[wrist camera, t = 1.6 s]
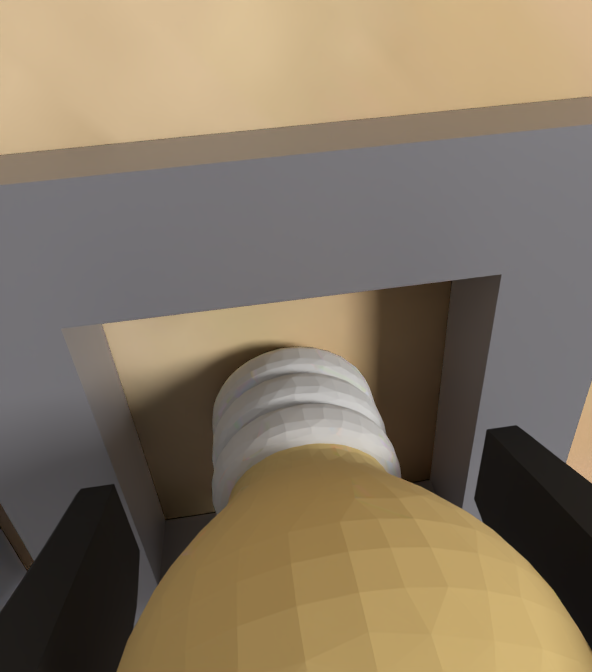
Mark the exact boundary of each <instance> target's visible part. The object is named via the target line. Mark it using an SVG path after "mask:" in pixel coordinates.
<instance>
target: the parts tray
mask: <svg viewBox="0 0 592 672" xmlns="http://www.w3.org/2000/svg"><path fill="white" fill-rule="evenodd" d="M26 573H27V571H26V569H25V567H24V566H23V564H22V563H21V561H20V559H19V558H18V556H17V554H16V553H15V551H14V549H13V548H12V546H11V544H10V543H9V541H8V539H7V538H6V536H5V534H4V533H3V531H2V530H1V528H0V611H1V610H2V608H3V607H4V606H5V604H6V603H7V601H8V600H9V598H10V597H11V595H12V594H13V592H14V591H15V589H16V588H17V586H18V585H19V583H20V582H21V580H22V579H23V577H24V576H25V574H26Z"/></svg>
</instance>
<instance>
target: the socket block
mask: <svg viewBox="0 0 592 672" xmlns="http://www.w3.org/2000/svg"><path fill="white" fill-rule="evenodd" d="M451 280H452V285H451V294H450V303H449V312H448V321H447V330H446V339H445V348H444V357H443V366H442V375H441V384H440V393H439V402H438V412H437V421H436V430H435V439H434V448H433V457H432V466H431V475H430V480H428V481H421V482H415V483H413V484H416V485H418V486H421V487H423V488H425V489H426V490H428V491H430V492H432V493H434V494H436V495H438V496H439V497H441V498H443V499H445V500H447V501H449V502H450V503H452V504H454V505H456V506H458V507H460V508H461V509H463V510H465V511H467V512H468V513H470V514H471V515H473V516H474V517H475V518H477V519H478V520H480V521H481V522H483V521H482V519H481V516H480V513H479V511H478V508H477V505H476V503H475V500H474V496H475V490H476V485H477V479H478V474H479V468H480V463H481V458H482V452H483V447H484V441H485V436H486V431H487V429H493V428H500V427H507V426H513V425H517V426H519V427H520V428H521V429H522V430H524V431H525V432H526V433H528V434H529V435H530V436H532V437H533V438H534V439H535V440H537V441H538V442H539V443H540V444H542V445H543V446H544V447H546V448H547V449H548V450H549V451H551V452H552V453H553V454H554V455H556V456H557V457H558V458H559V459H561V460H562V461H563V462H565V463H566V460H567V457H568V454H569V451H570V448H571V445H572V441H573V438H574V435H575V432H576V429H577V425H578V422H579V419H580V416H581V413H582V410H583V406H584V403H585V400H586V397H587V394H588V391H589V387H590V384H591V381H592V97H583V98H572V99H562V100H552V101H542V102H532V103H522V104H512V105H502V106H492V107H482V108H471V109H461V110H451V111H441V112H431V113H421V114H411V115H401V116H391V117H381V118H370V119H360V120H350V121H340V122H330V123H320V124H310V125H300V126H290V127H280V128H269V129H259V130H249V131H239V132H229V133H219V134H209V135H199V136H189V137H179V138H168V139H158V140H148V141H138V142H128V143H118V144H108V145H98V146H88V147H78V148H68V149H57V150H47V151H37V152H27V153H17V154H7V155H0V504H1V505H2V507H3V509H4V511H5V512H6V514H7V516H8V517H9V519H10V521H11V523H12V524H13V526H14V528H15V529H16V531H17V533H18V535H19V536H20V538H21V540H22V541H23V543H24V545H25V547H26V548H27V550H28V552H29V553H30V555H31V557H32V559H33V560H34V561H35V559H36V558H37V556H38V554H39V553H40V551H41V550H42V548H43V547H44V545H45V544H46V542H47V540H48V539H49V537H50V536H51V534H52V533H53V531H54V529H55V528H56V526H57V525H58V523H59V521H60V520H61V518H62V516H63V515H64V513H65V512H66V510H67V508H68V507H69V505H70V504H71V502H72V500H73V499H74V497H75V495H76V494H77V493H78V492H79V490H80V489H82V488H89V487H96V486H103V485H110V484H114V485H115V487H116V490H117V492H118V495H119V498H120V500H121V503H122V505H123V508H124V511H125V513H126V516H127V518H128V521H129V524H130V526H131V529H132V531H133V534H134V537H135V539H136V542H137V544H138V547H139V549H140V561H139V582H138V597H137V609H136V615H135V621H134V627H135V625H136V624H137V622H138V620H139V618H140V616H141V614H142V612H143V611H144V609H145V607H146V605H147V603H148V601H149V599H150V598H151V596H152V594H153V592H154V590H155V588H156V587H157V586H158V584H159V583H160V581H161V580H162V578H163V577H164V575H165V574H166V572H167V571H168V569H169V568H170V567H171V565H172V564H173V563H174V562H175V560H176V559H177V558H178V557H179V556H180V555H181V553H182V552H183V551H184V550H185V549H186V547H187V546H188V545H189V544H190V543H191V542H192V540H193V539H194V538H195V537H196V536H197V534H198V533H199V532H200V531H201V530H202V529H203V528H204V527H205V526H206V525H207V524H208V523H209V522H210V521H211V520H212V519H213V518H215V517H216V516H217V514H216V513H211V514H205V515H198V516H191V517H185V518H178V519H172V520H165V518H164V515H163V512H162V508H161V505H160V502H159V499H158V496H157V493H156V490H155V487H154V484H153V481H152V478H151V475H150V471H149V468H148V465H147V462H146V459H145V456H144V453H143V450H142V447H141V444H140V441H139V437H138V434H137V431H136V428H135V425H134V422H133V419H132V416H131V413H130V410H129V407H128V404H127V400H126V397H125V394H124V391H123V388H122V385H121V382H120V379H119V376H118V373H117V370H116V366H115V363H114V360H113V357H112V354H111V351H110V348H109V345H108V342H107V339H106V336H105V333H104V329H103V326H102V324H104V323H112V322H120V321H128V320H136V319H144V318H152V317H161V316H169V315H177V314H185V313H193V312H201V311H209V310H217V309H225V308H233V307H241V306H249V305H257V304H266V303H274V302H282V301H290V300H298V299H306V298H314V297H322V296H330V295H338V294H346V293H354V292H363V291H371V290H379V289H387V288H395V287H403V286H411V285H419V284H427V283H435V282H443V281H451ZM134 627H133V629H134Z"/></svg>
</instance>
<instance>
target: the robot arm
mask: <svg viewBox="0 0 592 672" xmlns="http://www.w3.org/2000/svg"><path fill="white" fill-rule="evenodd" d="M474 500H475V503H476V505H477V508H478V511H479V513H480V516H481V519H482V521H483V523H484V524H485V525H487V526H488V527H490V528H491V529H493V530H494V531H495V532H496V533H497V534H498V535H499V536H501V537H502V538H503V539H504V540H505V541H506V542H507V543H508V544H509V545H511V546H512V547H513V548H514V549H515V550H516V551H517V552H518V553H519V554H521V555H522V556H523V557H524V558H525V559H526V560H527V561H528V562H529V563H530V564H531V565H532V566H533V567H534V569H535V570H536V571H537V572H538V573H539V574H540V575H541V577H542V578H543V579H544V580H545V581H546V582H547V583H548V585H549V586H550V587H551V588H552V589H553V590H554V592H555V593H556V595H557V596H558V598H559V599H560V601H561V602H562V604H563V605H564V607H565V608H566V610H567V611H568V613H569V614H570V616H571V617H572V619H573V620H574V622H575V624H576V625H577V627H578V628H579V630H580V631H581V633H582V635H583V636H584V638H585V640H586V642H587V643H588V645H589V647H590V648H591V650H592V483H590V482H589V481H588V480H586V479H585V478H584V477H583V476H581V475H580V474H579V473H577V472H576V471H575V470H574V469H572V468H571V467H570V466H568V465H567V464H566V463H565V462H563V461H562V460H561V459H559V458H558V457H557V456H556V455H554V454H553V453H552V452H551V451H549V450H548V449H547V448H546V447H544V446H543V445H542V444H540V443H539V442H538V441H537V440H535V439H534V438H533V437H532V436H530V435H529V434H528V433H526V432H525V431H524V430H522V429H521V428H520V427H519V426H517V425H513V426H507V427H500V428H493V429H487V431H486V436H485V441H484V447H483V452H482V458H481V463H480V468H479V474H478V479H477V485H476V490H475V496H474ZM139 561H140V549H139V547H138V544H137V542H136V539H135V537H134V534H133V531H132V529H131V526H130V524H129V521H128V518H127V516H126V513H125V511H124V508H123V505H122V503H121V500H120V498H119V495H118V492H117V490H116V487H115V485H114V484H110V485H103V486H96V487H89V488H82V489H80V490H79V492H78V493H77V494H76V495H75V497H74V499H73V500H72V502H71V504H70V505H69V507H68V508H67V510H66V512H65V513H64V515H63V516H62V518H61V520H60V521H59V523H58V525H57V526H56V528H55V529H54V531H53V533H52V534H51V536H50V537H49V539H48V540H47V542H46V544H45V545H44V547H43V548H42V550H41V551H40V553H39V554H38V556H37V558H36V559H35V561H34V562H33V564H32V565H31V567H30V568H29V570H28V571H27V573H26V574H25V576H24V577H23V579H22V580H21V582H20V583H19V585H18V586H17V588H16V589H15V591H14V592H13V594H12V595H11V597H10V598H9V600H8V601H7V603H6V604H5V606H4V607H3V608H2V610H1V611H0V672H117V669H118V666H119V663H120V661H121V658H122V655H123V652H124V649H125V646H126V643H127V641H128V638H129V637H130V635H131V633H132V631H133V627H134V621H135V615H136V609H137V597H138V582H139Z"/></svg>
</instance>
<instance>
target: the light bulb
mask: <svg viewBox="0 0 592 672" xmlns="http://www.w3.org/2000/svg"><path fill="white" fill-rule="evenodd" d="M212 424H213V436H214V437H213V455H212V462H213V467H214V474H213V478H212V499H213V505H214V508H215V511H216V514H217V516H216V517H215V518H213V519H212V520H211V521H210V522H209V523H208V524H207V525H206V526H205V527H204V528H203V529H202V530H201V531H200V532H199V533H198V534H197V536H196V537H195V538H194V539H193V540H192V542H191V543H190V544H189V545H188V546H187V547H186V549H185V550H184V551H183V552H182V553H181V555H180V556H179V557H178V558H177V559H176V560H175V562H174V563H173V564H172V565H171V567H170V568H169V569H168V571H167V572H166V574H165V575H164V577H163V578H162V580H161V581H160V583H159V584H158V586H157V587H156V588H155V590H154V592H153V594H152V596H151V598H150V599H149V601H148V603H147V605H146V607H145V609H144V611H143V612H142V614H141V616H140V618H139V620H138V622H137V624H136V625H135V627H134V629H133V631H132V633H131V635H130V637H129V638H128V641H127V643H126V646H125V649H124V652H123V655H122V658H121V661H120V663H119V666H118V669H117V672H592V650H591V648H590V647H589V645H588V643H587V642H586V640H585V638H584V636H583V635H582V633H581V631H580V630H579V628H578V627H577V625H576V624H575V622H574V620H573V619H572V617H571V616H570V614H569V613H568V611H567V610H566V608H565V607H564V605H563V604H562V602H561V601H560V599H559V598H558V596H557V595H556V593H555V592H554V590H553V589H552V588H551V587H550V586H549V585H548V583H547V582H546V581H545V580H544V579H543V578H542V577H541V575H540V574H539V573H538V572H537V571H536V570H535V569H534V567H533V566H532V565H531V564H530V563H529V562H528V561H527V560H526V559H525V558H524V557H523V556H522V555H521V554H519V553H518V552H517V551H516V550H515V549H514V548H513V547H512V546H511V545H509V544H508V543H507V542H506V541H505V540H504V539H503V538H502V537H501V536H499V535H498V534H497V533H496V532H495V531H494V530H493V529H491V528H490V527H488V526H487V525H485V524H484V523H483V522H481V521H480V520H478V519H477V518H475V517H474V516H473V515H471V514H470V513H468V512H467V511H465V510H463V509H461V508H460V507H458V506H456V505H454V504H452V503H450V502H449V501H447V500H445V499H443V498H441V497H439V496H438V495H436V494H434V493H432V492H430V491H428V490H426V489H425V488H423V487H421V486H418V485H416V484H413V483H411V482H408V481H406V480H403V479H401V470H400V464H399V461H398V459H397V456H396V453H395V450H394V447H393V445H392V443H391V442H390V440H389V439H388V437H387V435H386V430H385V425H384V423H383V420H382V418H381V416H380V414H379V412H378V410H377V408H376V406H375V402H374V399H373V396H372V394H371V391H370V388H369V386H368V384H367V382H366V380H365V378H364V377H363V376H362V374H361V373H360V372H359V371H358V369H357V368H356V367H355V366H353V365H352V364H351V363H349V362H348V361H347V360H345V359H344V358H342V357H341V356H339V355H336V354H334V353H331V352H329V351H326V350H321V349H317V348H313V347H289V348H280V349H277V350H273V351H270V352H266V353H264V354H261V355H259V356H257V357H255V358H253V359H251V360H249V361H248V362H246V363H245V364H243V365H242V366H241V367H239V368H238V369H237V370H236V371H235V372H234V373H233V374H232V375H231V376H230V377H229V378H228V379H227V380H226V382H225V383H224V385H223V386H222V388H221V389H220V391H219V393H218V395H217V397H216V400H215V404H214V407H213V420H212Z"/></svg>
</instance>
